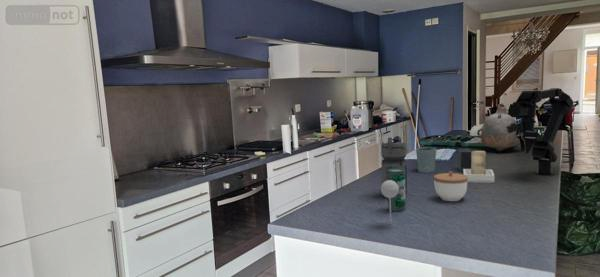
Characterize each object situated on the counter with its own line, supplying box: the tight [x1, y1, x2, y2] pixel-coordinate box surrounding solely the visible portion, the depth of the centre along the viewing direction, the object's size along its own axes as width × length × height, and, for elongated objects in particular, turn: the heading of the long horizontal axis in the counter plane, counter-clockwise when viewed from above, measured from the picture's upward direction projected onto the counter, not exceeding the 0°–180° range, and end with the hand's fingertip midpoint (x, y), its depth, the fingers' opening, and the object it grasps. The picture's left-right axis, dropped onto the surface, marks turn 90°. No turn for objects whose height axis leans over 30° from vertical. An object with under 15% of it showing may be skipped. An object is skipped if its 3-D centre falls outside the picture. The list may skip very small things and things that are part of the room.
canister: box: [471, 150, 486, 175], centre depth 192 cm, size 6×6×12 cm
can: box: [387, 168, 407, 212], centre depth 155 cm, size 6×6×15 cm
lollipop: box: [380, 180, 399, 225], centre depth 139 cm, size 6×6×15 cm
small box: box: [457, 148, 473, 173], centre depth 214 cm, size 11×6×10 cm, turn 168°
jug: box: [476, 102, 520, 152], centre depth 259 cm, size 24×21×30 cm
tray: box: [462, 168, 495, 184], centre depth 193 cm, size 13×13×4 cm
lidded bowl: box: [433, 171, 468, 202], centre depth 164 cm, size 13×13×11 cm
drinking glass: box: [415, 146, 437, 174], centre depth 216 cm, size 10×10×12 cm
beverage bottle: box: [380, 135, 408, 196], centre depth 174 cm, size 10×13×25 cm
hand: (524, 152), depth 190 cm, fingers open, 9 cm apart
